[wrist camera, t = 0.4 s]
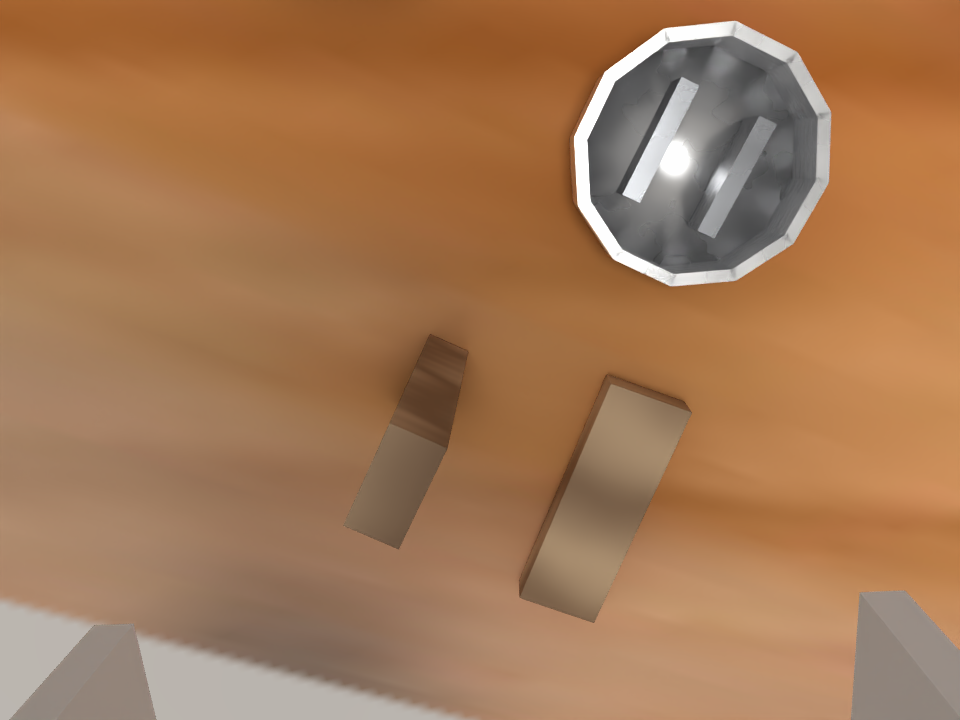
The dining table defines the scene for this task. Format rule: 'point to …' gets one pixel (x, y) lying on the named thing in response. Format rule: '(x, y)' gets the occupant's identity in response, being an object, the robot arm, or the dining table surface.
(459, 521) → the dining table surface
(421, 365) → the brown elongated block
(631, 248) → the tin
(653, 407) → the tan rectangular slab
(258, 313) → the dining table surface
